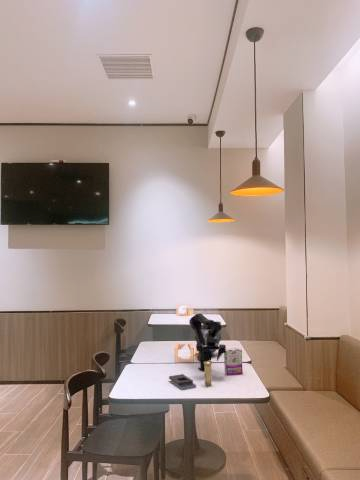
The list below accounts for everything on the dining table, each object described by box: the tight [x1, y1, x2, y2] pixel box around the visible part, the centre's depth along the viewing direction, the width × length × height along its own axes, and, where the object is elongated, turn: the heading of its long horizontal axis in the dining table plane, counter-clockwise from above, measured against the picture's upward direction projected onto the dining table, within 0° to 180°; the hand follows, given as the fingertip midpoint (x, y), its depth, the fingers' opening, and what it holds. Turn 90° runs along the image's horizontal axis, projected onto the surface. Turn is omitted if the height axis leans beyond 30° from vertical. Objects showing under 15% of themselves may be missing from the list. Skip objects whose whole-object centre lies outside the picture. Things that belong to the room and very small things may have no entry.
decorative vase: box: [194, 321, 222, 359], centre depth 285 cm, size 21×19×28 cm
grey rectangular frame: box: [168, 374, 197, 391], centre depth 219 cm, size 18×10×3 cm, turn 25°
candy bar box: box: [223, 347, 243, 377], centre depth 238 cm, size 11×5×16 cm, turn 101°
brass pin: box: [204, 360, 213, 388], centre depth 216 cm, size 5×5×14 cm
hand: (210, 360), depth 225 cm, fingers open, 9 cm apart
